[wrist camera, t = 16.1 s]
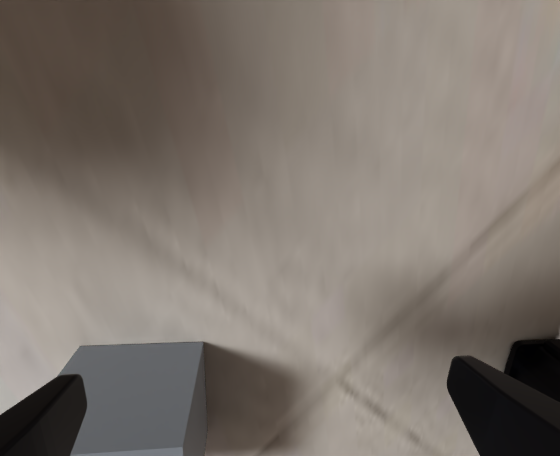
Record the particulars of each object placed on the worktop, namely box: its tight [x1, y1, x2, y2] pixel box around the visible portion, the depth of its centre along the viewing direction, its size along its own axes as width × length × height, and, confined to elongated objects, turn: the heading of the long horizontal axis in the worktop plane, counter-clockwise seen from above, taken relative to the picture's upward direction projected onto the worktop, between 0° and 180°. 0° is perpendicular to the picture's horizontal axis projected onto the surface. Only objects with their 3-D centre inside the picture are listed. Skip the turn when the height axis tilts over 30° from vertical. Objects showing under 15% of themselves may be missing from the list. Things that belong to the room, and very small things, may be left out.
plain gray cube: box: [57, 342, 208, 456], centre depth 19 cm, size 8×8×7 cm
